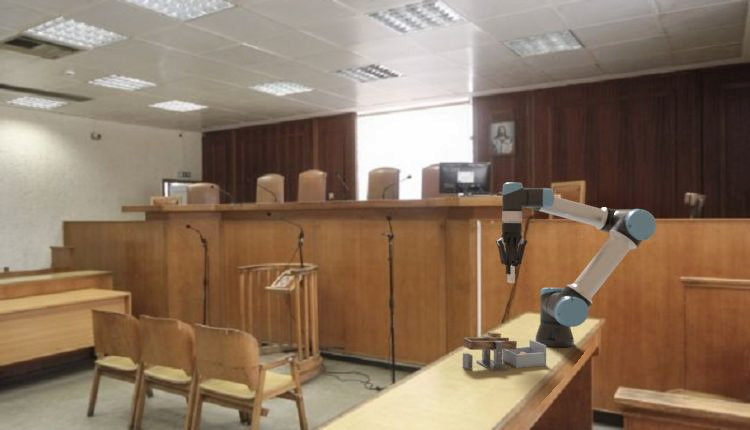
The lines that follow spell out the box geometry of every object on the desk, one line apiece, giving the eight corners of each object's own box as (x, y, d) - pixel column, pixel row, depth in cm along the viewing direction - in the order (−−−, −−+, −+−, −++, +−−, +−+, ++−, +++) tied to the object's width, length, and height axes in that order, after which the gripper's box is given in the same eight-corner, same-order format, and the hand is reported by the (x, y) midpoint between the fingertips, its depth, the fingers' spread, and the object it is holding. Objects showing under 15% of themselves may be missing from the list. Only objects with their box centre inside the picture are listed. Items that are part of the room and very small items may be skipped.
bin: (530, 358, 198) (531, 339, 198) (546, 365, 189) (546, 345, 189) (502, 361, 194) (502, 341, 194) (516, 368, 186) (516, 347, 185)
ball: (526, 356, 194) (521, 348, 193) (531, 358, 191) (527, 351, 190) (519, 362, 193) (514, 355, 192) (525, 364, 190) (520, 357, 189)
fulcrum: (491, 361, 194) (491, 334, 194) (507, 369, 183) (508, 342, 183) (458, 363, 190) (458, 337, 190) (473, 372, 179) (473, 344, 179)
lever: (495, 340, 200) (496, 331, 200) (516, 349, 187) (516, 339, 187) (452, 340, 195) (452, 331, 195) (470, 349, 182) (471, 340, 182)
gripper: (521, 222, 215) (520, 281, 215) (491, 221, 211) (491, 282, 211) (532, 222, 208) (531, 283, 208) (502, 222, 203) (501, 284, 204)
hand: (510, 282), depth 209 cm, fingers closed
